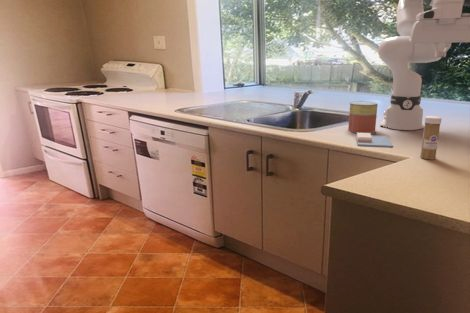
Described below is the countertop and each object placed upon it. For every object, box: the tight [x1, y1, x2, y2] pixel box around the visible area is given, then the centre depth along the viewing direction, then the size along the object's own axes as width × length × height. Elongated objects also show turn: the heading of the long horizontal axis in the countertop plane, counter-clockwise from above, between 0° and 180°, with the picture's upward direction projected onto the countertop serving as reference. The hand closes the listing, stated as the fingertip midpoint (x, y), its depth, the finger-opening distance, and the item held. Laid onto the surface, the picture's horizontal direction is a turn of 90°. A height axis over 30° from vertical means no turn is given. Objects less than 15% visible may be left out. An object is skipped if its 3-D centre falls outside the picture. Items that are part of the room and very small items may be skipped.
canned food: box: [347, 100, 379, 134], centre depth 159 cm, size 11×11×12 cm
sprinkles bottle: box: [419, 115, 442, 160], centre depth 117 cm, size 5×5×13 cm
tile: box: [356, 133, 372, 142], centre depth 142 cm, size 8×2×5 cm
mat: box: [355, 134, 394, 148], centre depth 141 cm, size 16×12×1 cm
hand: (440, 56), depth 126 cm, fingers closed
